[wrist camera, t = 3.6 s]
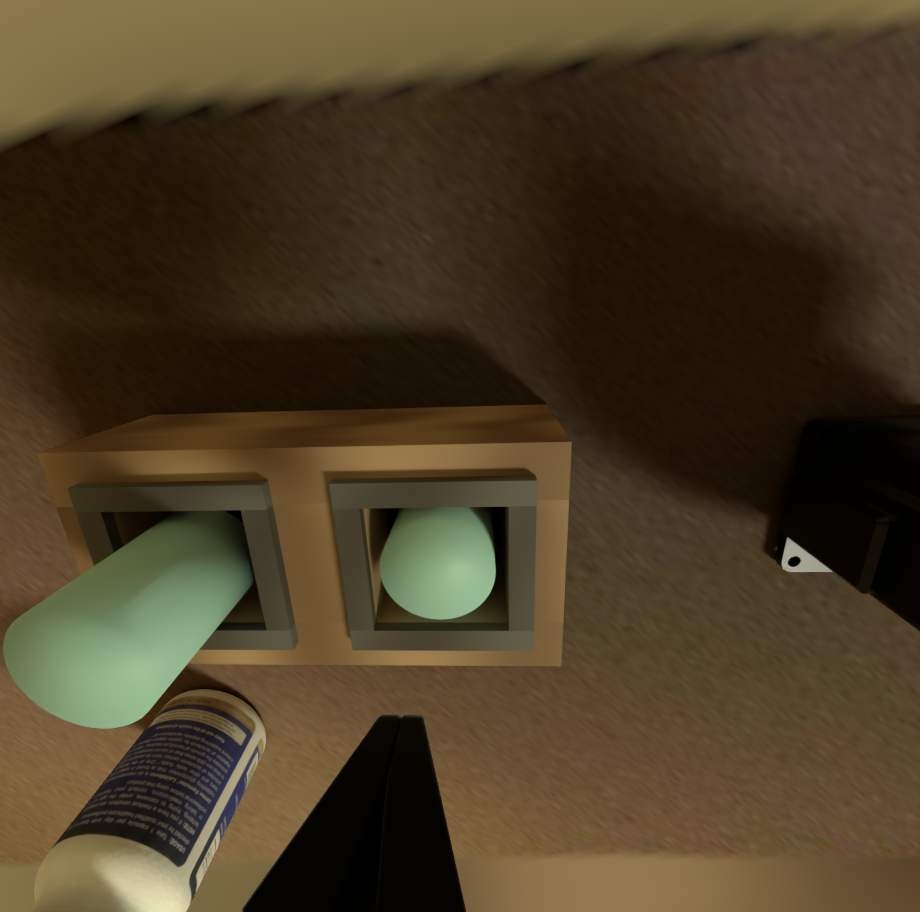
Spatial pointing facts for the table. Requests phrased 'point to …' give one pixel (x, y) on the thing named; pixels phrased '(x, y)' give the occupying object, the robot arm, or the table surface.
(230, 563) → the plunger
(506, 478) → the socket block
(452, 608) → the plunger
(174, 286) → the table surface
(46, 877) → the pill bottle
